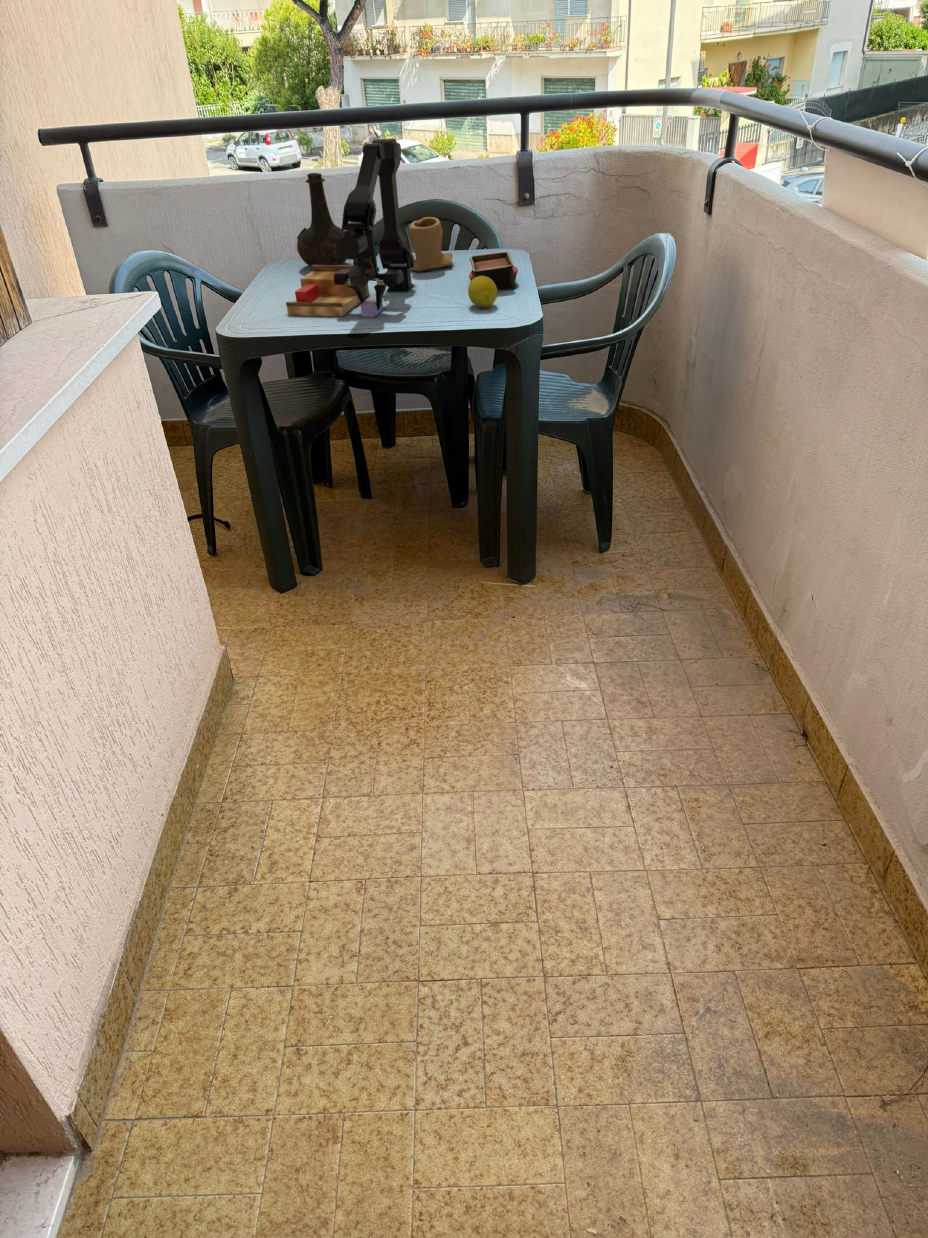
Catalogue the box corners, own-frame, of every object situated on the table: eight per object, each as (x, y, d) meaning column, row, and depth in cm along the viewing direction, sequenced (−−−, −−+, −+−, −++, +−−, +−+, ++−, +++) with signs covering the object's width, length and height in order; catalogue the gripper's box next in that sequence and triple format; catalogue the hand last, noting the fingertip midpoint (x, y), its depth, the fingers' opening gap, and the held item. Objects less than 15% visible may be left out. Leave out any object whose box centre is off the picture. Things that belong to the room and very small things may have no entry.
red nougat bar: (319, 296, 243) (317, 284, 241) (308, 304, 237) (306, 291, 235) (307, 296, 244) (305, 283, 242) (296, 303, 238) (294, 291, 236)
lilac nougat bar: (383, 308, 237) (381, 296, 235) (373, 317, 231) (372, 304, 229) (371, 308, 238) (370, 296, 236) (361, 316, 232) (360, 304, 230)
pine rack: (369, 295, 249) (365, 264, 244) (343, 316, 234) (338, 284, 229) (317, 294, 254) (312, 264, 249) (288, 315, 238) (282, 283, 233)
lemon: (500, 310, 229) (499, 279, 224) (472, 313, 228) (470, 282, 224) (493, 299, 238) (492, 269, 233) (466, 302, 237) (464, 272, 232)
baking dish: (468, 300, 245) (468, 266, 238) (469, 274, 258) (469, 241, 250) (517, 301, 245) (519, 267, 238) (516, 275, 257) (517, 242, 250)
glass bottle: (310, 260, 289) (295, 169, 273) (359, 258, 286) (348, 166, 270) (293, 273, 275) (276, 179, 259) (345, 272, 272) (331, 176, 256)
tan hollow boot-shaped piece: (414, 276, 264) (409, 224, 255) (406, 267, 273) (401, 217, 264) (460, 269, 266) (457, 218, 257) (451, 261, 276) (447, 211, 267)
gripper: (320, 257, 221) (330, 317, 230) (387, 257, 216) (393, 318, 225) (337, 246, 229) (345, 305, 239) (401, 246, 225) (407, 306, 234)
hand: (372, 309), depth 234 cm, fingers closed on lilac nougat bar, 3 cm apart
